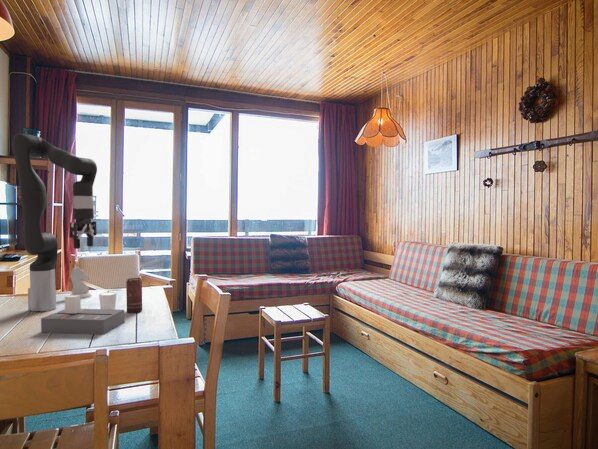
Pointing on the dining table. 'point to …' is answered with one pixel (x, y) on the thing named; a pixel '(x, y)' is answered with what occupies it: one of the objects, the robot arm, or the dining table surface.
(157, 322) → the dining table surface
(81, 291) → the chess piece
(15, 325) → the dining table surface
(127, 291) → the can
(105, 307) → the white cylinder
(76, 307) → the fader knob
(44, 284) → the robot arm
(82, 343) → the dining table surface
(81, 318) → the slider control panel
